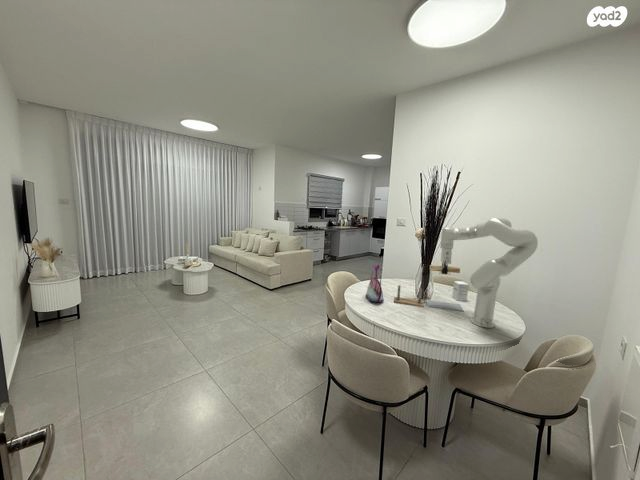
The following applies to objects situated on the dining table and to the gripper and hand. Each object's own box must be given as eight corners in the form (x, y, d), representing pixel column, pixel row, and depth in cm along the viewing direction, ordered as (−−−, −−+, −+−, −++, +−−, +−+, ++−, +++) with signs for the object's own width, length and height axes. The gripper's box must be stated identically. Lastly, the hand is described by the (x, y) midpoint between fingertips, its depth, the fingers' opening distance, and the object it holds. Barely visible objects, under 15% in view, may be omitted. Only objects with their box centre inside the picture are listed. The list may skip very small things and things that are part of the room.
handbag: (363, 294, 198) (365, 261, 195) (376, 294, 200) (378, 261, 196) (372, 305, 177) (375, 268, 174) (386, 305, 179) (389, 268, 175)
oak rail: (459, 273, 175) (460, 268, 174) (430, 270, 180) (430, 266, 179) (458, 271, 178) (459, 267, 177) (429, 269, 182) (430, 265, 182)
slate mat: (463, 311, 173) (463, 310, 173) (427, 306, 179) (427, 305, 179) (459, 305, 185) (460, 304, 185) (425, 300, 191) (426, 299, 191)
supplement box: (451, 297, 200) (453, 280, 198) (461, 297, 200) (463, 281, 198) (456, 300, 193) (458, 283, 191) (467, 301, 193) (469, 284, 191)
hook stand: (423, 306, 178) (425, 292, 177) (394, 302, 184) (395, 288, 182) (422, 301, 188) (424, 287, 186) (394, 297, 193) (395, 284, 192)
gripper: (455, 248, 168) (452, 276, 170) (450, 244, 183) (447, 271, 186) (442, 247, 170) (440, 275, 172) (438, 244, 185) (436, 270, 188)
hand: (444, 273), depth 179 cm, fingers closed on oak rail, 3 cm apart
